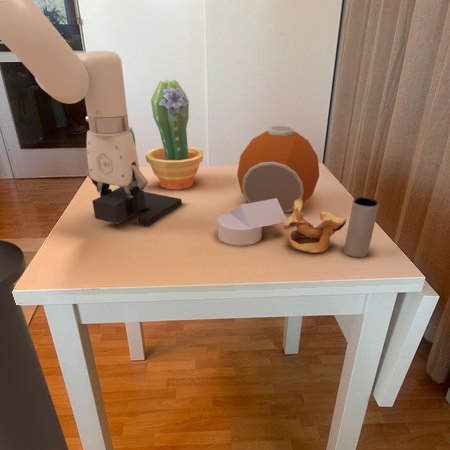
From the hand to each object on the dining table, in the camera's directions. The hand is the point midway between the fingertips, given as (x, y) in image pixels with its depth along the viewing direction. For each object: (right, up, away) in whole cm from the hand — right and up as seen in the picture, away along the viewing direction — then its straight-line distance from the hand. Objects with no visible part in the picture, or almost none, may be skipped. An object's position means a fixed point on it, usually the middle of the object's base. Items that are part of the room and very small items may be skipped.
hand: (120, 210), depth 92 cm
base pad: (+3, +2, +6) cm, 7 cm away
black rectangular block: (0, 0, 0) cm, 1 cm away
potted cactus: (+10, +12, +22) cm, 27 cm away
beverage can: (-2, +10, +18) cm, 21 cm away
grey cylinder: (+48, -10, -11) cm, 51 cm away
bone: (+40, -9, -8) cm, 42 cm away
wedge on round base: (+28, -6, -4) cm, 29 cm away
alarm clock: (+35, +4, +10) cm, 37 cm away
